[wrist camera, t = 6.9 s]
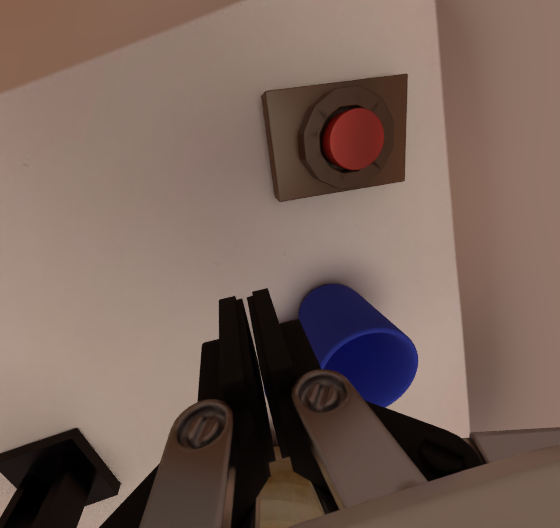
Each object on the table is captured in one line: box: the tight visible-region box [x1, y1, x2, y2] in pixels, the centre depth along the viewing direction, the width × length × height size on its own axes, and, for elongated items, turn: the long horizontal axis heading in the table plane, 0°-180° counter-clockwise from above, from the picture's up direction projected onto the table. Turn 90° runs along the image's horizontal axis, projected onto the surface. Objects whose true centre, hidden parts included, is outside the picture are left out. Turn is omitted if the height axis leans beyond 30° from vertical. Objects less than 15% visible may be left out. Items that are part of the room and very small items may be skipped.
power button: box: [323, 108, 384, 170], centre depth 22 cm, size 4×4×2 cm
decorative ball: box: [259, 446, 322, 528], centre depth 33 cm, size 15×15×15 cm
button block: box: [262, 74, 408, 202], centre depth 24 cm, size 11×8×4 cm
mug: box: [264, 284, 418, 408], centre depth 28 cm, size 8×12×10 cm
